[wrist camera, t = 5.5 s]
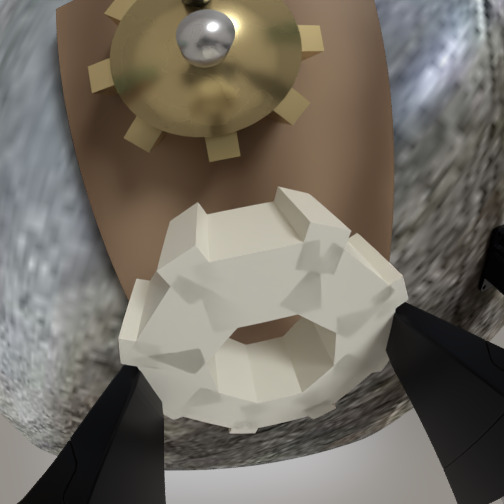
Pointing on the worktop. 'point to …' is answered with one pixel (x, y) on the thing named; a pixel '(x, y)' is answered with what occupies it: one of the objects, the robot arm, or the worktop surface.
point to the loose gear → (260, 313)
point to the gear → (204, 68)
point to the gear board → (249, 139)
